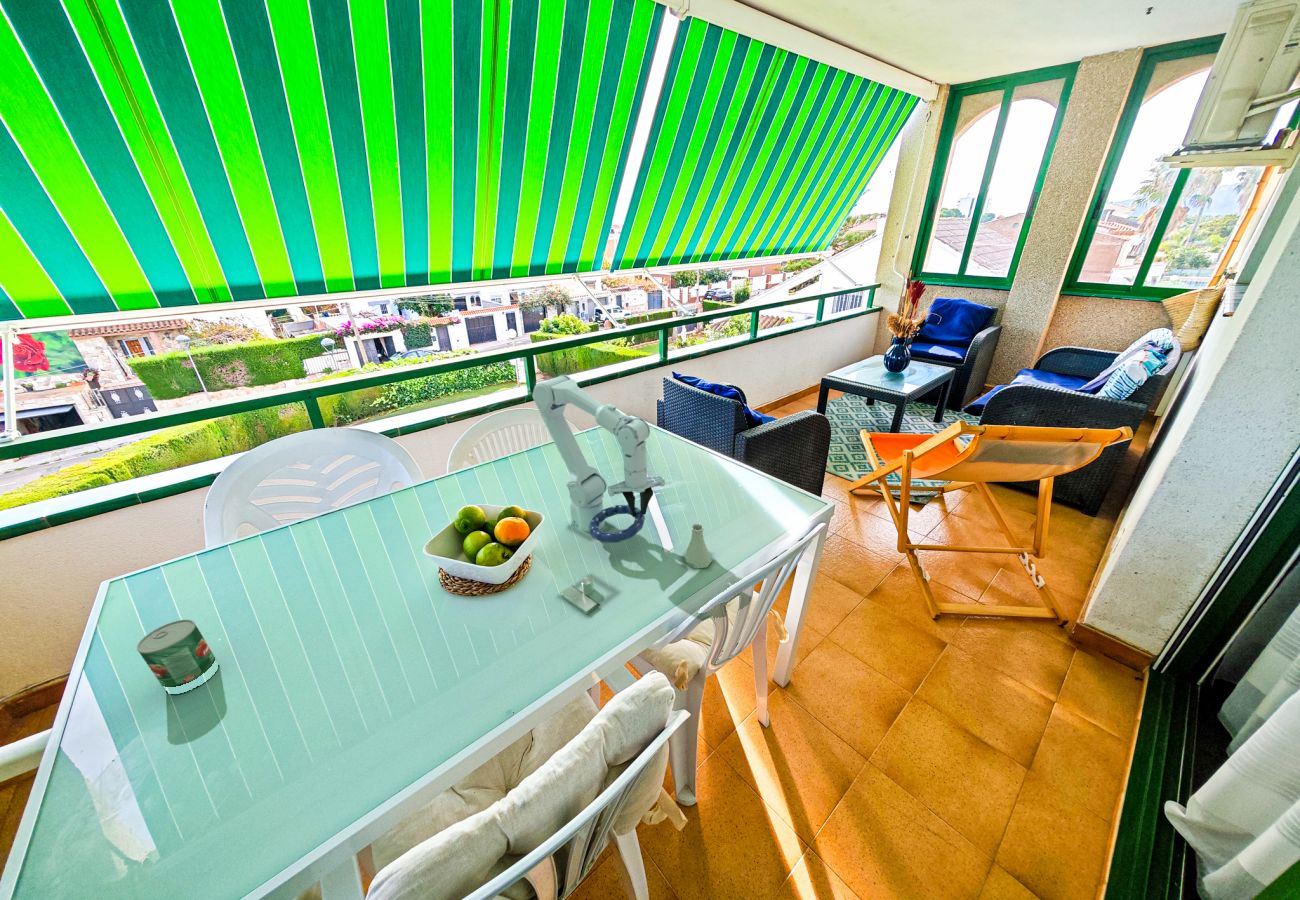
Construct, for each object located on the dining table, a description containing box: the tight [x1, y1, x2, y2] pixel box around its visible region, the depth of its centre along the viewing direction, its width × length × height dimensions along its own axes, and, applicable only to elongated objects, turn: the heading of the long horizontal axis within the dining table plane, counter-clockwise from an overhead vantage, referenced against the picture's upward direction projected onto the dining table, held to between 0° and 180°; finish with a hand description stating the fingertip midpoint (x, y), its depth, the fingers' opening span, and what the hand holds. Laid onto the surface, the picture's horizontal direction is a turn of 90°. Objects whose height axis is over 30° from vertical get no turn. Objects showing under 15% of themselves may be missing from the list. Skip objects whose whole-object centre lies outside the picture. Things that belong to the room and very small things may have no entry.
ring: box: [589, 504, 646, 544], centre depth 118 cm, size 14×14×2 cm
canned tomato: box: [136, 619, 216, 692], centre depth 87 cm, size 8×8×11 cm
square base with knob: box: [560, 576, 601, 616], centre depth 105 cm, size 9×9×4 cm
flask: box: [684, 523, 713, 569], centre depth 114 cm, size 7×7×10 cm
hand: (638, 513), depth 119 cm, fingers closed on ring, 2 cm apart
